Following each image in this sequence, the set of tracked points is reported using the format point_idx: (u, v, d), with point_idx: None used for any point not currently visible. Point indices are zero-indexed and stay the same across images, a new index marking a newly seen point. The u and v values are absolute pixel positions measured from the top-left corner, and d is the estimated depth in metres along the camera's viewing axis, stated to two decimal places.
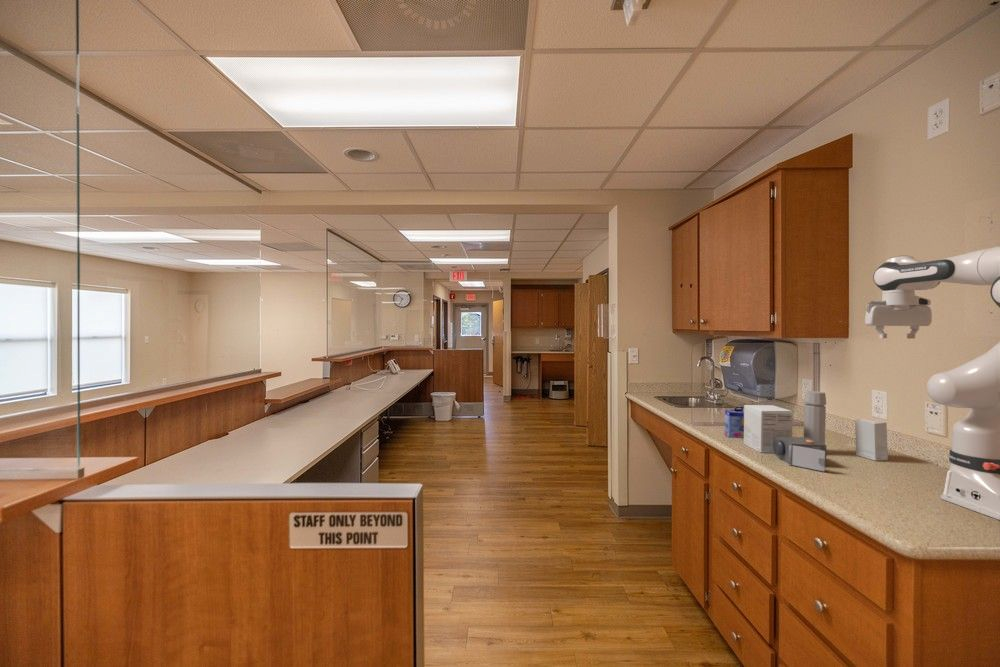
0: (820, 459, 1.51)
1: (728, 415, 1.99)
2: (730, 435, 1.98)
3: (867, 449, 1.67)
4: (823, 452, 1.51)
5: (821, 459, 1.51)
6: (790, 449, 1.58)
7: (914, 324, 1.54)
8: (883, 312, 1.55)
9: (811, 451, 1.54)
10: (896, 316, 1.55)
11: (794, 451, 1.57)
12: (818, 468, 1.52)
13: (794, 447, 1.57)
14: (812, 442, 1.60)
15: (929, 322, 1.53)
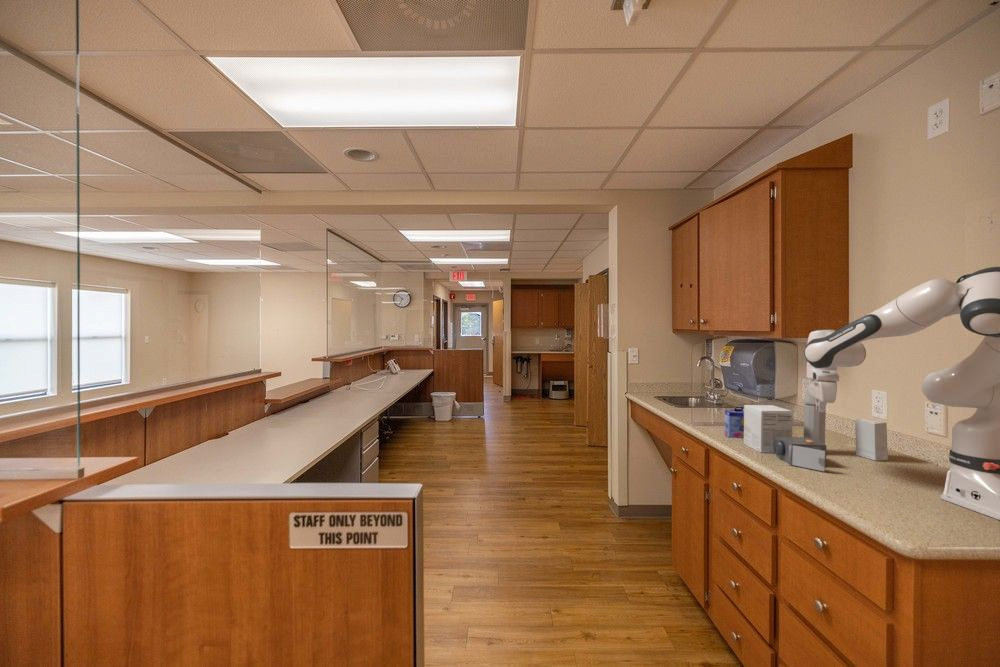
0: (820, 459, 1.51)
1: (728, 415, 1.99)
2: (730, 435, 1.98)
3: (867, 449, 1.67)
4: (823, 452, 1.51)
5: (821, 459, 1.51)
6: (790, 449, 1.58)
7: (818, 398, 1.52)
8: (811, 383, 1.61)
9: (811, 451, 1.54)
10: (814, 388, 1.57)
11: (794, 451, 1.57)
12: (818, 468, 1.52)
13: (794, 447, 1.57)
14: (812, 442, 1.60)
15: (821, 398, 1.47)
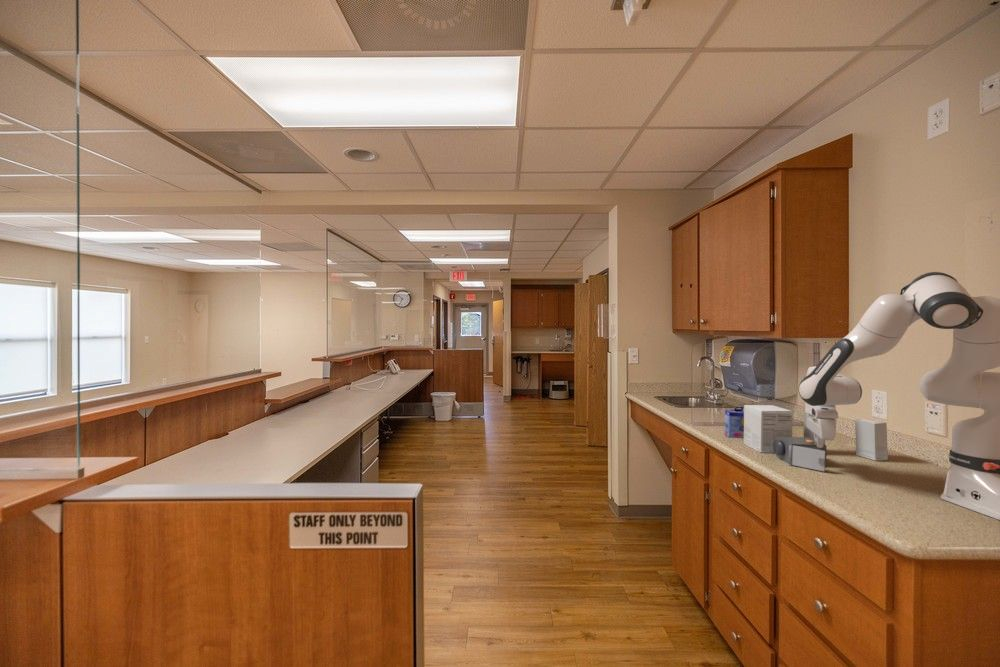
0: (820, 459, 1.51)
1: (728, 415, 1.99)
2: (730, 435, 1.98)
3: (867, 449, 1.67)
4: (823, 452, 1.51)
5: (821, 459, 1.51)
6: (790, 449, 1.58)
7: (817, 434, 1.51)
8: (810, 417, 1.60)
9: (811, 451, 1.54)
10: (812, 423, 1.57)
11: (794, 451, 1.57)
12: (818, 468, 1.52)
13: (794, 447, 1.57)
14: (812, 442, 1.60)
15: (820, 435, 1.47)
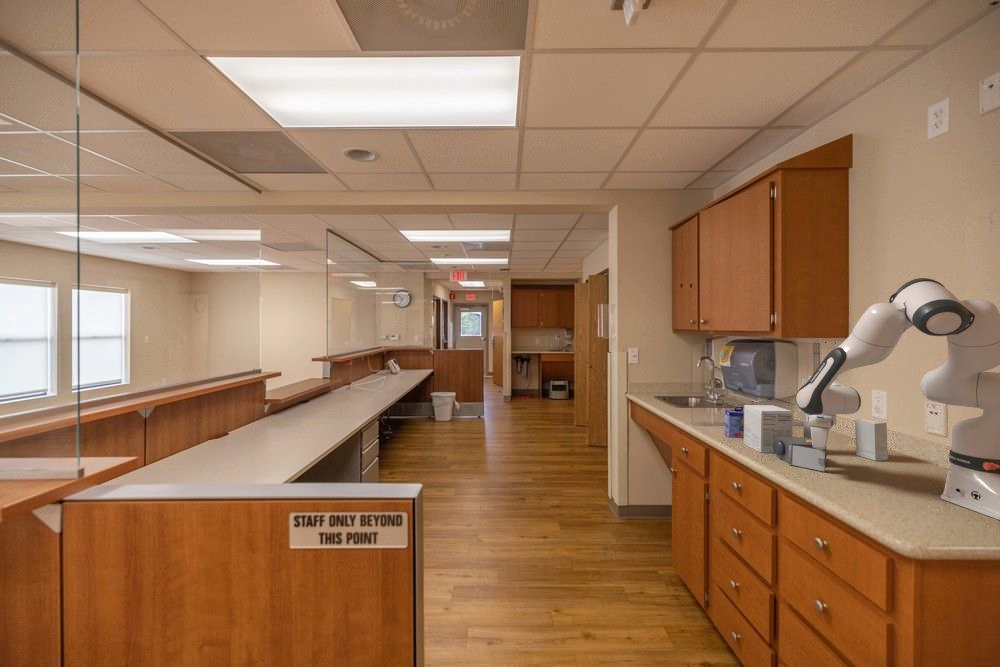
0: (820, 459, 1.51)
1: (728, 415, 1.99)
2: (730, 435, 1.98)
3: (867, 449, 1.67)
4: (823, 452, 1.51)
5: (821, 459, 1.51)
6: (790, 449, 1.58)
7: None
8: None
9: (811, 451, 1.54)
10: None
11: (794, 451, 1.57)
12: (818, 468, 1.52)
13: (794, 447, 1.57)
14: None
15: (812, 444, 1.48)
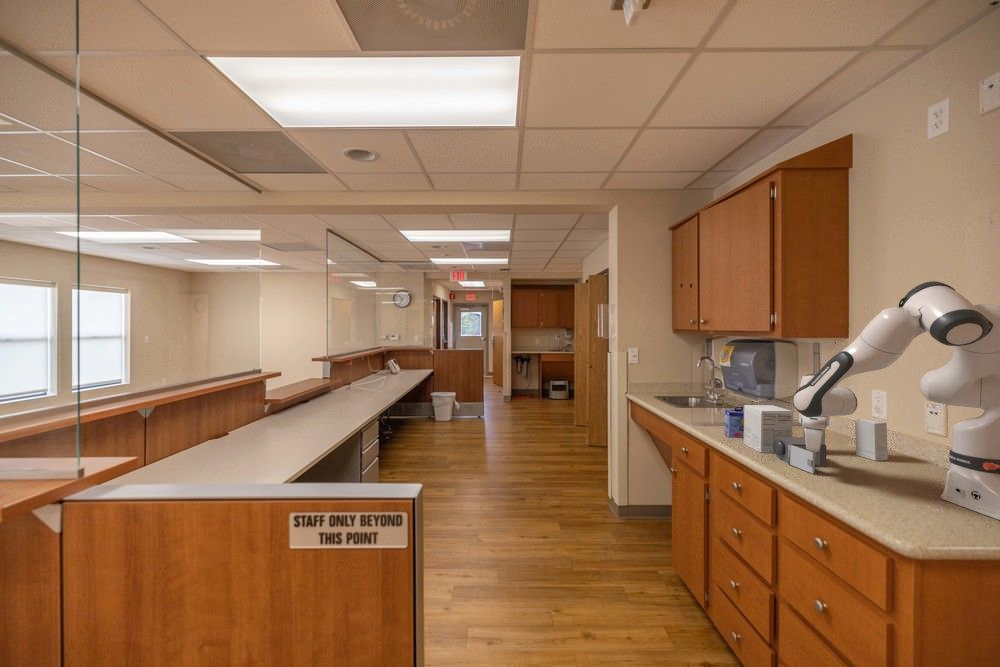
0: (808, 460, 1.50)
1: (728, 415, 1.99)
2: (730, 435, 1.98)
3: (867, 449, 1.67)
4: (812, 454, 1.49)
5: (809, 460, 1.49)
6: (788, 448, 1.59)
7: None
8: None
9: (803, 452, 1.52)
10: None
11: (791, 451, 1.58)
12: (808, 470, 1.50)
13: (791, 447, 1.58)
14: None
15: (806, 446, 1.45)
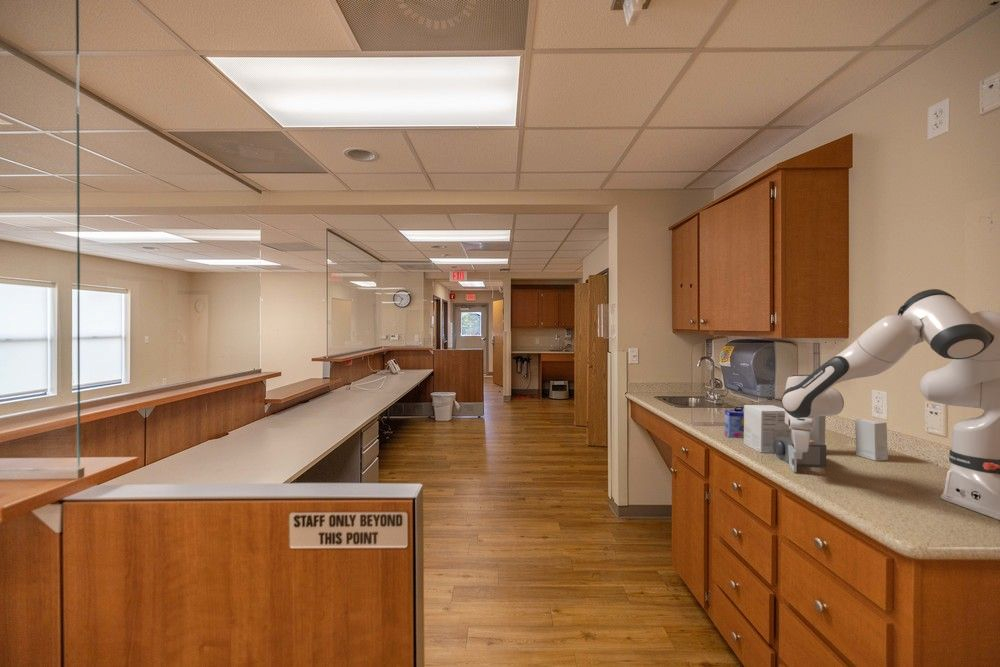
0: (791, 459, 1.51)
1: (728, 415, 1.99)
2: (730, 435, 1.98)
3: (867, 449, 1.67)
4: (793, 452, 1.50)
5: (791, 459, 1.51)
6: (788, 448, 1.59)
7: None
8: None
9: (792, 451, 1.54)
10: (792, 433, 1.53)
11: (789, 450, 1.58)
12: (792, 468, 1.52)
13: (789, 446, 1.58)
14: (812, 442, 1.60)
15: (794, 447, 1.44)
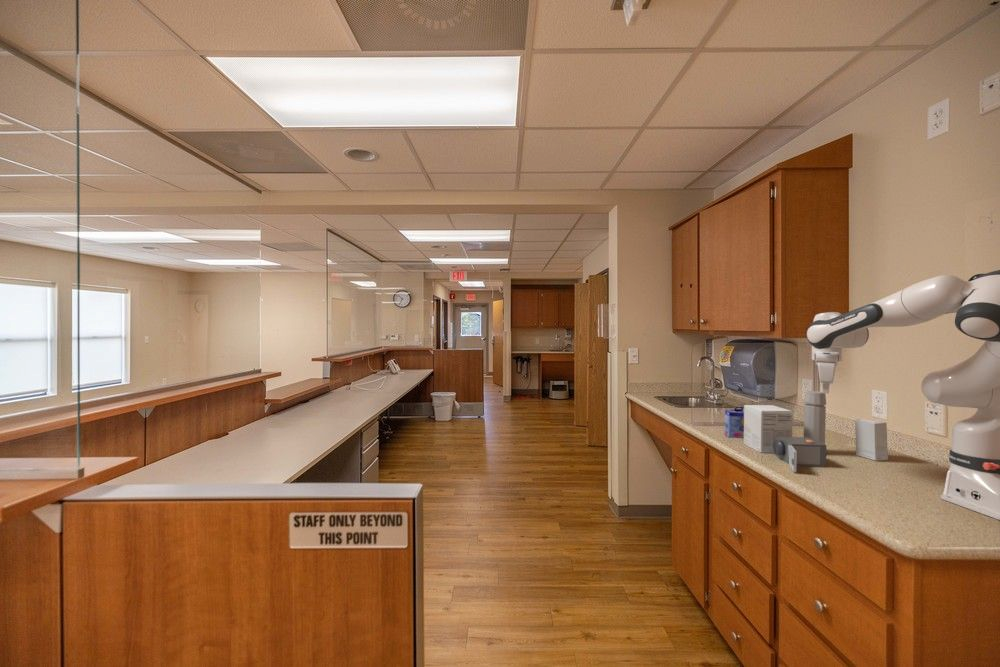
0: (791, 459, 1.51)
1: (728, 415, 1.99)
2: (730, 435, 1.98)
3: (867, 449, 1.67)
4: (793, 452, 1.50)
5: (791, 459, 1.51)
6: (788, 448, 1.59)
7: None
8: None
9: (792, 451, 1.54)
10: None
11: (789, 450, 1.58)
12: (792, 468, 1.52)
13: (789, 446, 1.58)
14: (812, 442, 1.60)
15: None
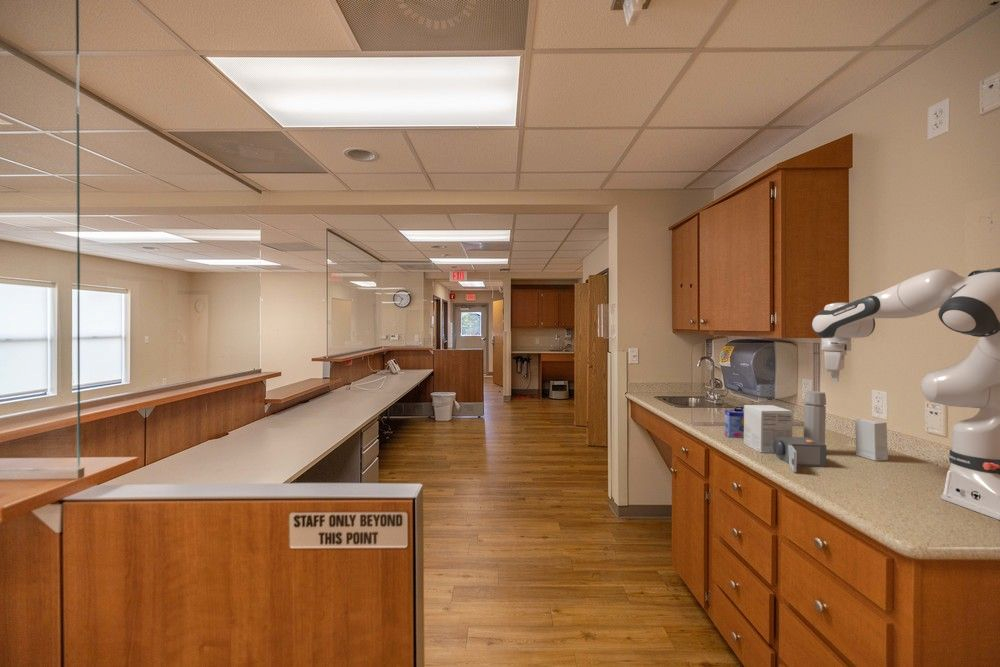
0: (791, 459, 1.51)
1: (728, 415, 1.99)
2: (730, 435, 1.98)
3: (867, 449, 1.67)
4: (793, 452, 1.50)
5: (791, 459, 1.51)
6: (788, 448, 1.59)
7: None
8: None
9: (792, 451, 1.54)
10: None
11: (789, 450, 1.58)
12: (792, 468, 1.52)
13: (789, 446, 1.58)
14: (812, 442, 1.60)
15: None
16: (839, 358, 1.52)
